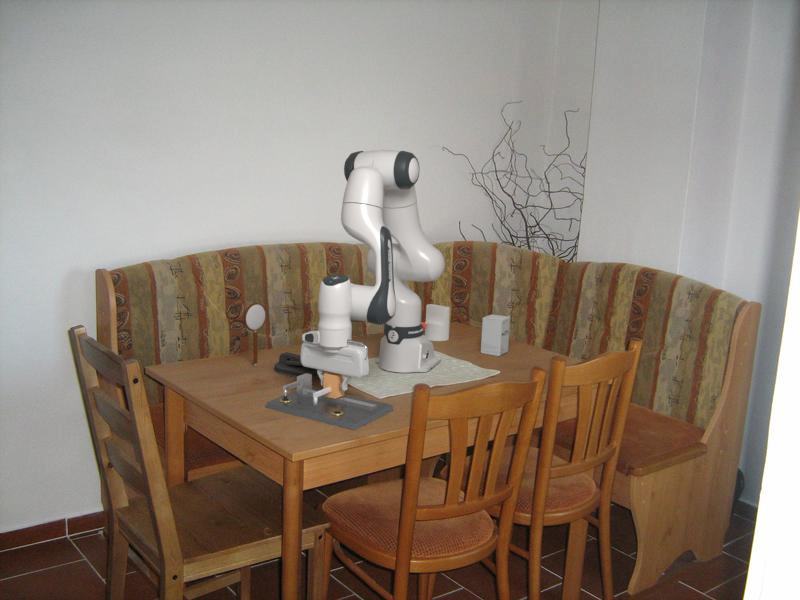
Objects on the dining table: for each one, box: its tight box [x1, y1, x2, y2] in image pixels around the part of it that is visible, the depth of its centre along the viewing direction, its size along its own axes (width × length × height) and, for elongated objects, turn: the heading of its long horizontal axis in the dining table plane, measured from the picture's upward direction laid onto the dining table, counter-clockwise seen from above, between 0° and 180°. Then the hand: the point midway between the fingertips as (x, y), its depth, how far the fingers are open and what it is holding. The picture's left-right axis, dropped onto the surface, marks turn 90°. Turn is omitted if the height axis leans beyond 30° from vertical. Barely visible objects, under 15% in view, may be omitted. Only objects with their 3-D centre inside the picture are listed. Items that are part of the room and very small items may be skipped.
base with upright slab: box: [424, 303, 451, 342], centre depth 285 cm, size 9×9×12 cm
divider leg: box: [313, 371, 345, 406], centre depth 204 cm, size 10×4×6 cm, turn 148°
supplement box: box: [480, 314, 511, 357], centre depth 266 cm, size 7×7×13 cm
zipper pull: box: [274, 351, 319, 379], centre depth 233 cm, size 9×7×25 cm
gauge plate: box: [266, 373, 394, 431], centre depth 204 cm, size 18×28×6 cm, turn 58°
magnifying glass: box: [243, 302, 267, 367], centre depth 241 cm, size 9×2×20 cm, turn 141°
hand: (334, 387), depth 207 cm, fingers open, 5 cm apart
